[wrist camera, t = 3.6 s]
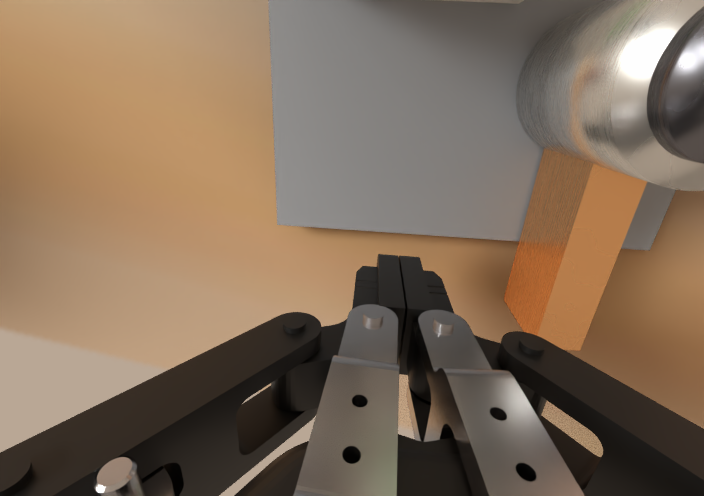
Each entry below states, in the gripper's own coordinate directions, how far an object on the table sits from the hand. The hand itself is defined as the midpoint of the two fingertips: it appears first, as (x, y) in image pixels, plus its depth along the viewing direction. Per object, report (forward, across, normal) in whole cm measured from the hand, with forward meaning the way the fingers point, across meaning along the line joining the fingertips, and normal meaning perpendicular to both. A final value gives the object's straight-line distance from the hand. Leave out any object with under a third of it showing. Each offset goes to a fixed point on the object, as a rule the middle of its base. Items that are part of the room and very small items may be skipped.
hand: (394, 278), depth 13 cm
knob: (+4, -7, -3) cm, 8 cm away
